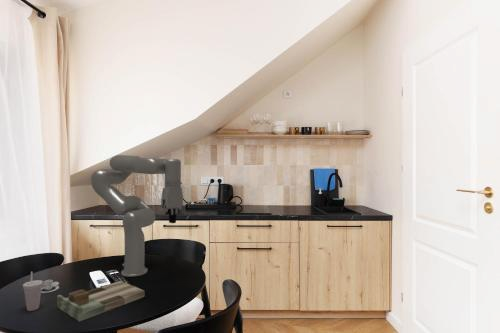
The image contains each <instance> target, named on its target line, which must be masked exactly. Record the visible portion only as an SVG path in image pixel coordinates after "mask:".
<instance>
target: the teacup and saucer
mask: <svg viewBox="0 0 500 333" xmlns="http://www.w3.org/2000/svg"><path fill="white" fill-rule="evenodd" d="M59 285H60V282H58V281H54V280H53V279H47V280H44V281H43V285H42V290H43V289H44V290H45V291H42V290H41V294H45V293H51V292H54V291H57V290H58V289H60V286H59ZM53 288H55V289H53Z"/></svg>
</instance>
